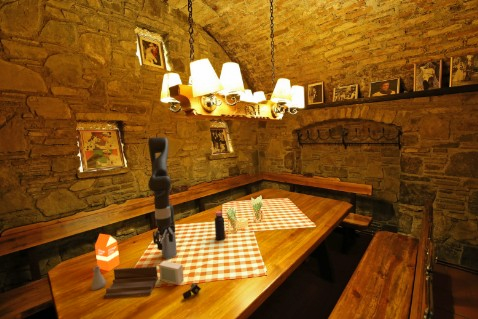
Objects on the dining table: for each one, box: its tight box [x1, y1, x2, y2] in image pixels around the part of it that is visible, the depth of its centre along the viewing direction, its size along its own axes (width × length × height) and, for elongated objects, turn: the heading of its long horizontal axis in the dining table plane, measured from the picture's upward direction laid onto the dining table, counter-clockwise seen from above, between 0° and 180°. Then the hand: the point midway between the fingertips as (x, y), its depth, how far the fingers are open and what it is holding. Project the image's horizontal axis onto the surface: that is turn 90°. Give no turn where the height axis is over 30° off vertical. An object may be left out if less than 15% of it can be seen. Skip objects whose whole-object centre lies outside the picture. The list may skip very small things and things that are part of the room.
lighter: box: [182, 283, 202, 300], centre depth 108 cm, size 8×2×5 cm
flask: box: [90, 265, 107, 291], centre depth 119 cm, size 7×7×10 cm
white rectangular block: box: [158, 260, 185, 286], centre depth 120 cm, size 12×4×9 cm, turn 67°
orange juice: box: [94, 233, 120, 272], centre depth 136 cm, size 8×9×20 cm
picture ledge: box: [103, 265, 159, 299], centre depth 116 cm, size 12×22×8 cm, turn 92°
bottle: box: [214, 210, 226, 241], centre depth 164 cm, size 7×7×20 cm
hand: (165, 245), depth 117 cm, fingers open, 8 cm apart
